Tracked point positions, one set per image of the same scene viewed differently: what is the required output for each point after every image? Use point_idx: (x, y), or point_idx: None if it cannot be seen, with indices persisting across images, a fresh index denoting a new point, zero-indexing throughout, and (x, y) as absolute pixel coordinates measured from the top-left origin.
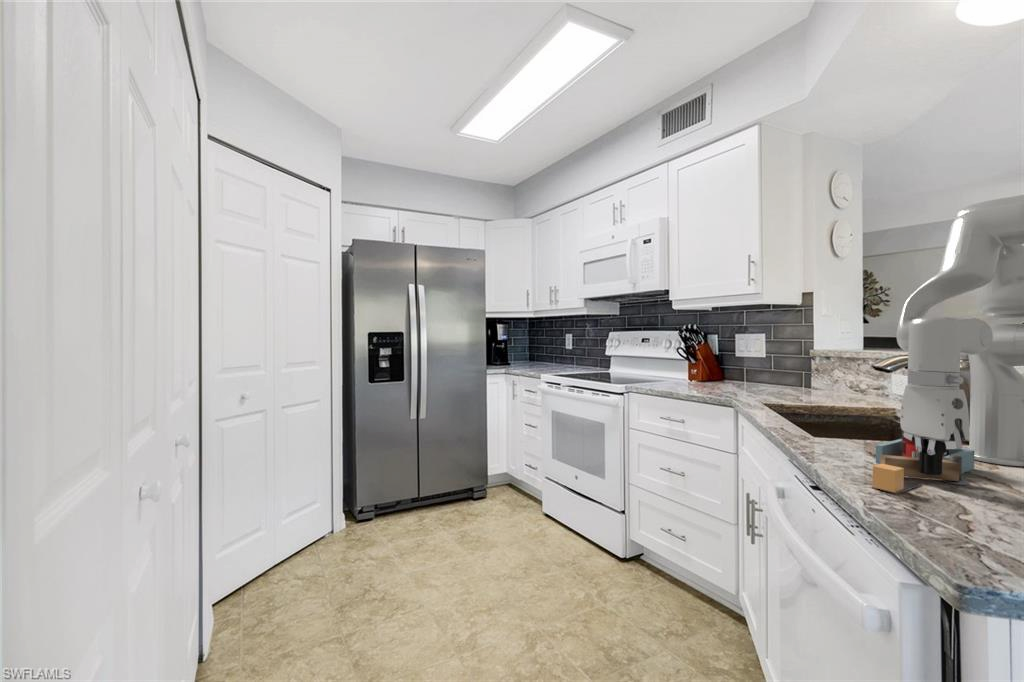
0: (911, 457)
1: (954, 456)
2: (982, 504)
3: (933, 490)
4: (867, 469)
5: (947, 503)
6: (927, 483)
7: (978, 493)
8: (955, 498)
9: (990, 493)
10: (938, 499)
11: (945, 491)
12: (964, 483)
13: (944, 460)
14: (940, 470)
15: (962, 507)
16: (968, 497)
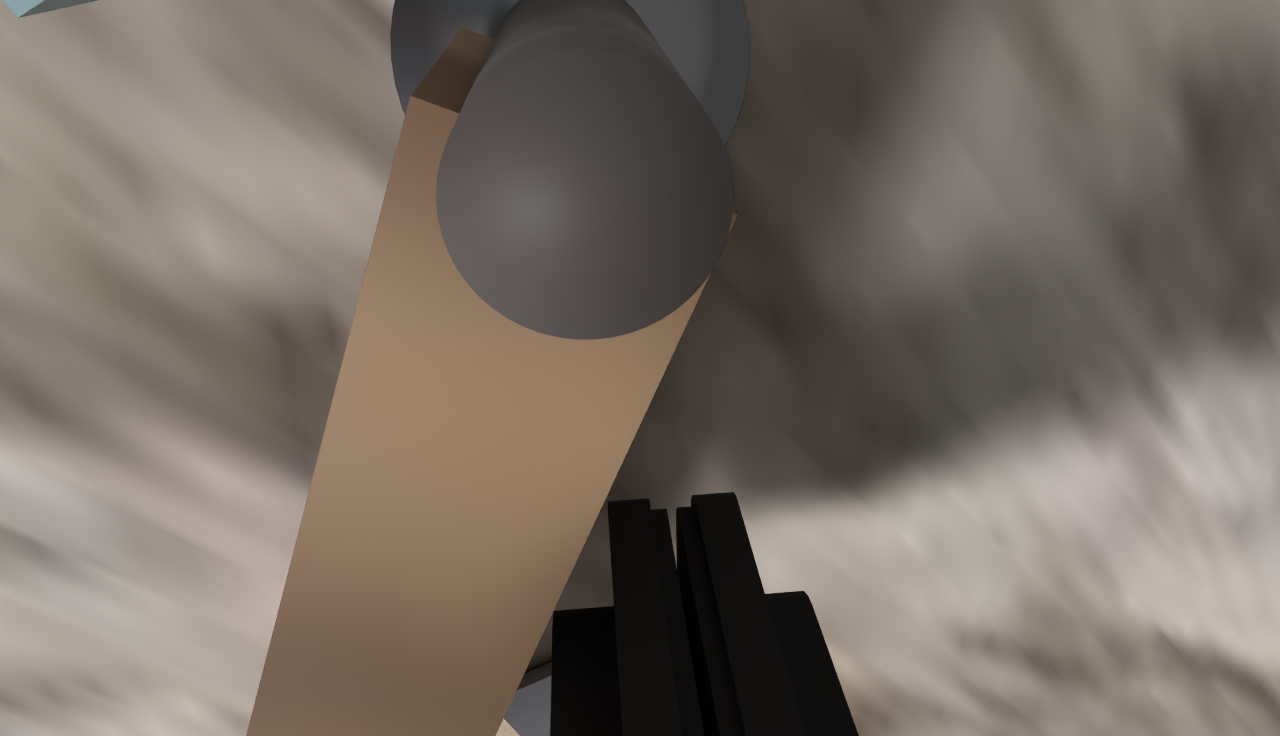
0: (285, 729)
1: (616, 273)
2: (1268, 485)
3: (842, 590)
4: (69, 714)
5: (1130, 709)
6: (614, 480)
7: (1043, 208)
8: (1072, 576)
9: (1095, 30)
10: (1042, 707)
11: (892, 510)
12: (723, 54)
13: (469, 329)
14: (801, 598)
15: (1230, 677)
16: (1096, 445)
